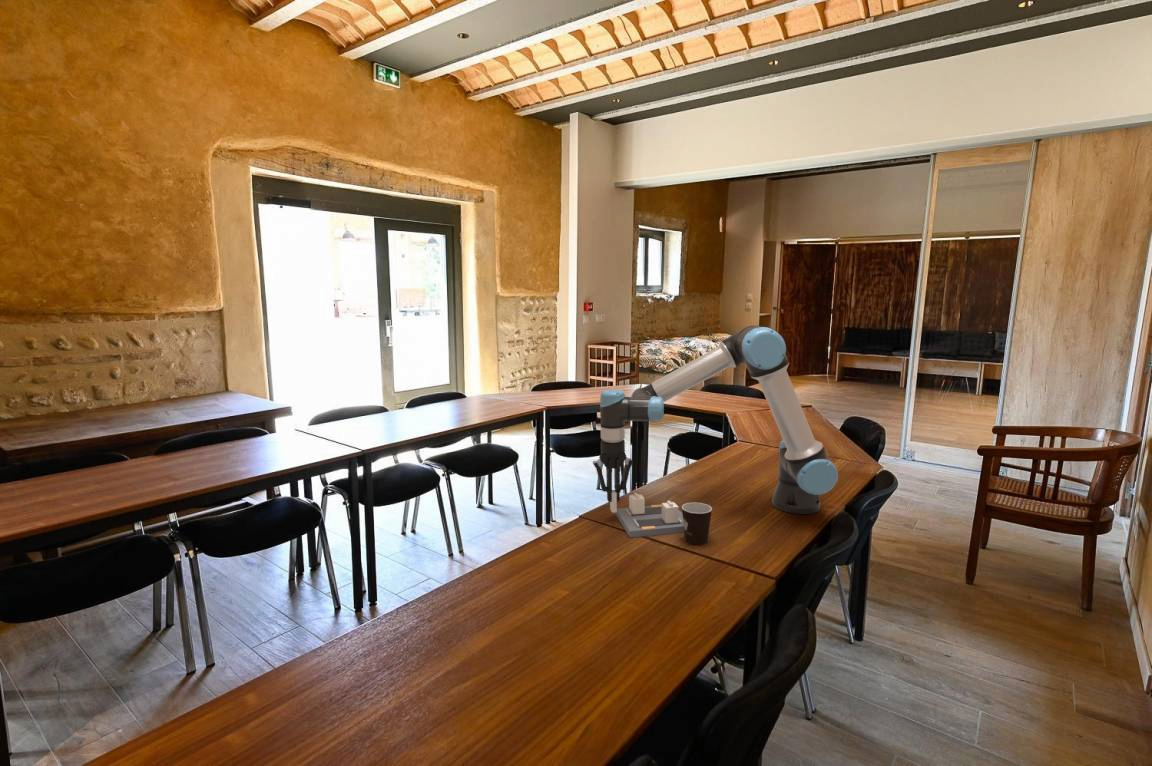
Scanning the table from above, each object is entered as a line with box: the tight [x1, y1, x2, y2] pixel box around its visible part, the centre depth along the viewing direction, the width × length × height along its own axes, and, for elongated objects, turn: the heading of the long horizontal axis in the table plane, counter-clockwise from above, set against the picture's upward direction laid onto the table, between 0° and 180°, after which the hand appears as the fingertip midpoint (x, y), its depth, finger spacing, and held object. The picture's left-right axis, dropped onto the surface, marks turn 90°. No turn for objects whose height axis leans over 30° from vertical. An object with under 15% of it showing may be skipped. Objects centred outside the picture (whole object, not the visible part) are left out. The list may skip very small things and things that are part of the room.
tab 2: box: [661, 500, 680, 523], centre depth 174 cm, size 4×4×6 cm
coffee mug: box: [681, 501, 713, 546], centre depth 166 cm, size 12×9×10 cm
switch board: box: [614, 503, 685, 539], centre depth 179 cm, size 20×18×3 cm
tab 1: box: [628, 492, 646, 514], centre depth 182 cm, size 4×4×6 cm
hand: (613, 510), depth 181 cm, fingers closed
